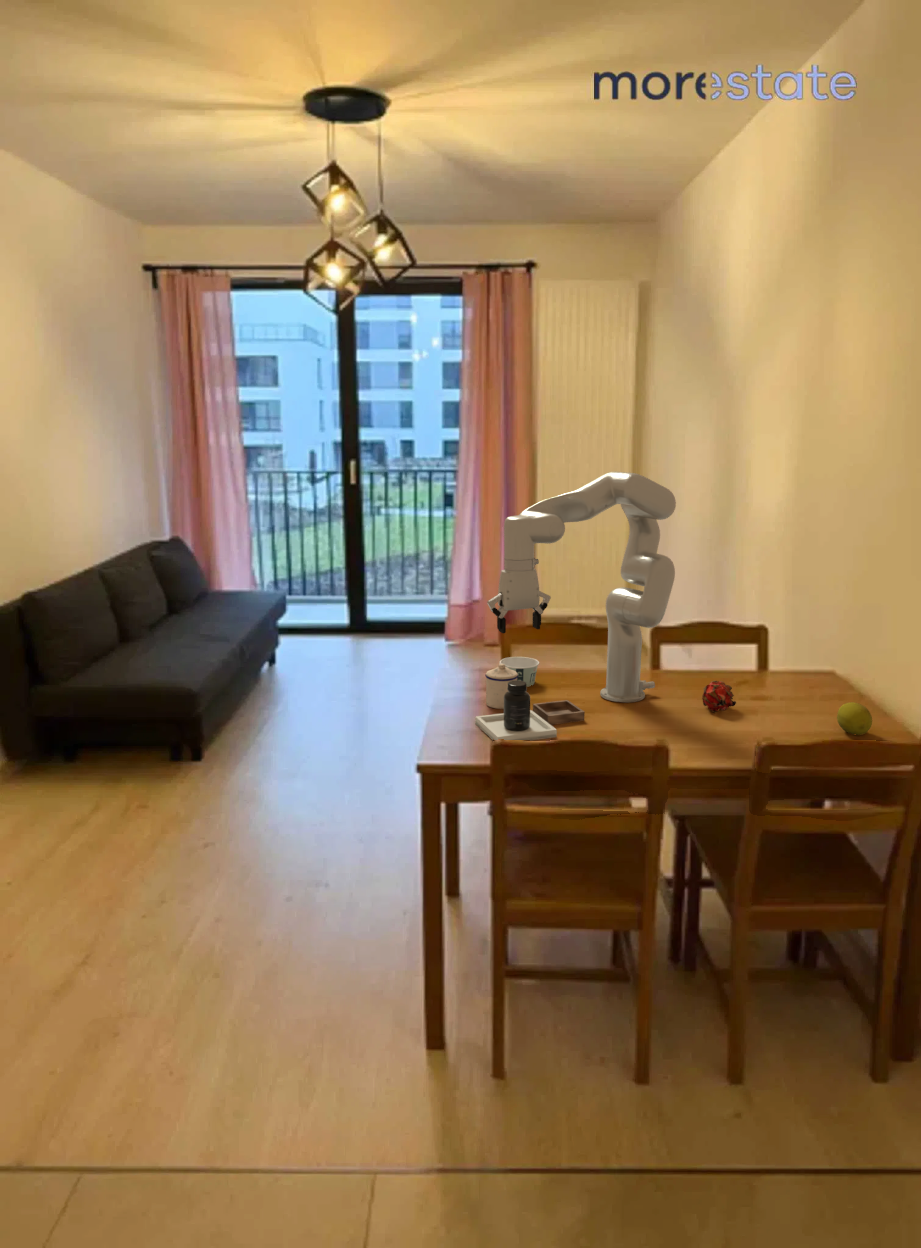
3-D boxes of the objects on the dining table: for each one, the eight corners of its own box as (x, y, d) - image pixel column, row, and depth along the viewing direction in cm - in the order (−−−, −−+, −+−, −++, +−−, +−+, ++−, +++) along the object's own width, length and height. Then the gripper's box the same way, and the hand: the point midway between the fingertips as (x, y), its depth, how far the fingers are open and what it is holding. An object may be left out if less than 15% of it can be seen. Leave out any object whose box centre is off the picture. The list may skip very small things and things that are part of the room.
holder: (567, 708, 252) (567, 700, 252) (584, 720, 243) (584, 711, 242) (532, 712, 249) (532, 704, 248) (548, 725, 239) (548, 716, 239)
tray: (531, 717, 245) (531, 710, 245) (556, 737, 231) (556, 729, 230) (475, 723, 240) (475, 716, 240) (497, 744, 226) (497, 737, 225)
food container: (500, 676, 282) (500, 656, 281) (539, 677, 281) (539, 657, 279) (498, 688, 271) (498, 666, 269) (538, 689, 269) (539, 668, 268)
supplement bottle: (502, 723, 238) (502, 679, 236) (527, 722, 239) (528, 678, 236) (504, 732, 232) (505, 687, 229) (531, 731, 232) (532, 686, 229)
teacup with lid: (517, 710, 251) (517, 669, 248) (484, 709, 252) (484, 668, 249) (518, 696, 263) (519, 657, 260) (486, 695, 263) (487, 656, 261)
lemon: (875, 741, 228) (879, 710, 226) (843, 740, 229) (846, 709, 227) (861, 726, 239) (864, 697, 237) (830, 725, 239) (833, 696, 237)
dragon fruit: (715, 707, 258) (722, 727, 247) (692, 690, 257) (697, 709, 246) (735, 685, 255) (743, 705, 244) (712, 668, 254) (719, 687, 243)
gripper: (543, 559, 238) (543, 623, 242) (482, 565, 232) (482, 630, 236) (556, 564, 231) (555, 630, 235) (493, 570, 225) (493, 637, 230)
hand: (519, 630), depth 236 cm, fingers open, 9 cm apart
